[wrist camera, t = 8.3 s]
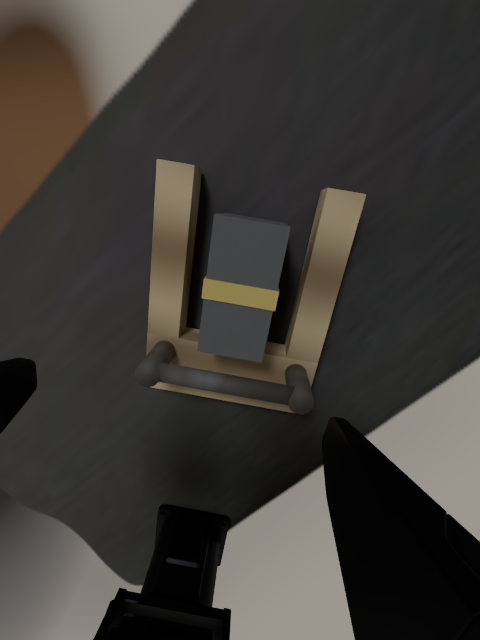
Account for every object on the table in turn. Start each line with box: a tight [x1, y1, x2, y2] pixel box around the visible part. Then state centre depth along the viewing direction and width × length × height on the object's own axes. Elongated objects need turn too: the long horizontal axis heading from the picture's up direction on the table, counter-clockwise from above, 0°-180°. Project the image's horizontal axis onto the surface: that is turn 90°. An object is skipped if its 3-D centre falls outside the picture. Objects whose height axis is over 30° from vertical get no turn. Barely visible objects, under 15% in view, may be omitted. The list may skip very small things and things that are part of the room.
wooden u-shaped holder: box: [134, 159, 366, 415], centre depth 17 cm, size 14×11×5 cm
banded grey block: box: [197, 213, 291, 363], centre depth 17 cm, size 4×7×5 cm, turn 171°
